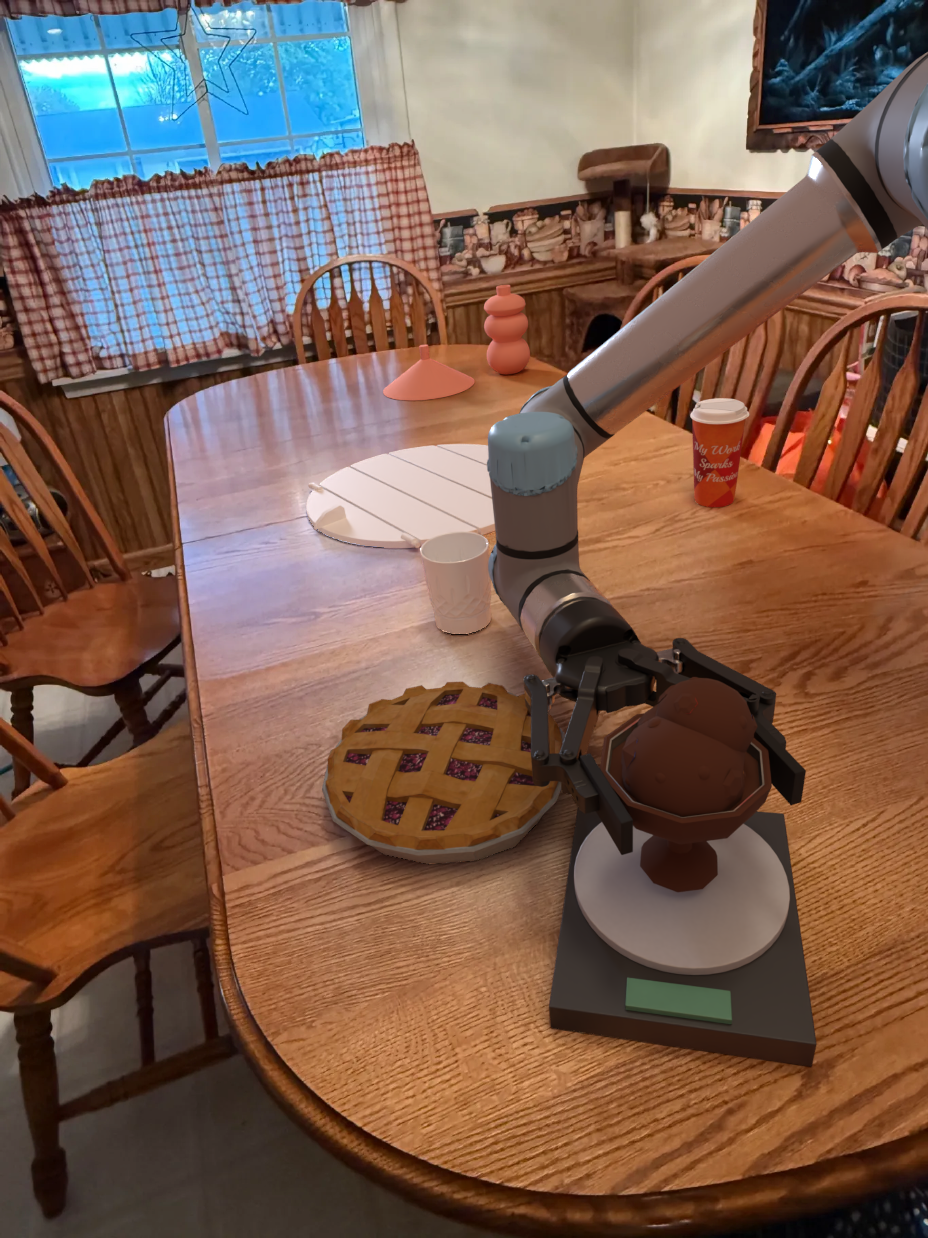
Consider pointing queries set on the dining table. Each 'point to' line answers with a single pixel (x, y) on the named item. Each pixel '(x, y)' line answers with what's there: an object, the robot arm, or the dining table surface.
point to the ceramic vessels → (502, 354)
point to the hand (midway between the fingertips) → (714, 812)
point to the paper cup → (717, 449)
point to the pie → (440, 774)
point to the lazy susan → (406, 497)
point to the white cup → (458, 580)
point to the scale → (685, 948)
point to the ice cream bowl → (688, 777)
